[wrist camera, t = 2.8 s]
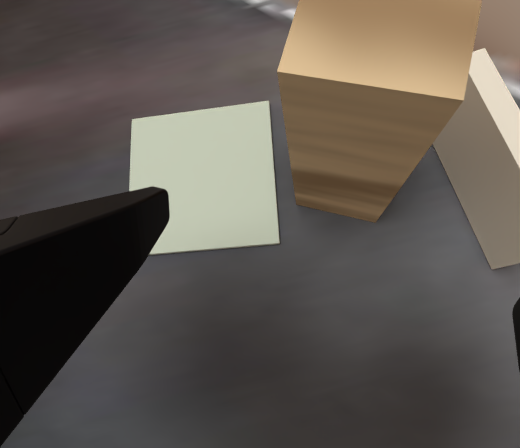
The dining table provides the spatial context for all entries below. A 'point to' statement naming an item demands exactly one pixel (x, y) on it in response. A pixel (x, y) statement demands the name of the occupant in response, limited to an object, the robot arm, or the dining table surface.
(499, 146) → the screen
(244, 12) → the dining table surface
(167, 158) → the display mat
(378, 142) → the tan wooden tall block
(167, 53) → the dining table surface
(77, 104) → the dining table surface
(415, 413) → the dining table surface
